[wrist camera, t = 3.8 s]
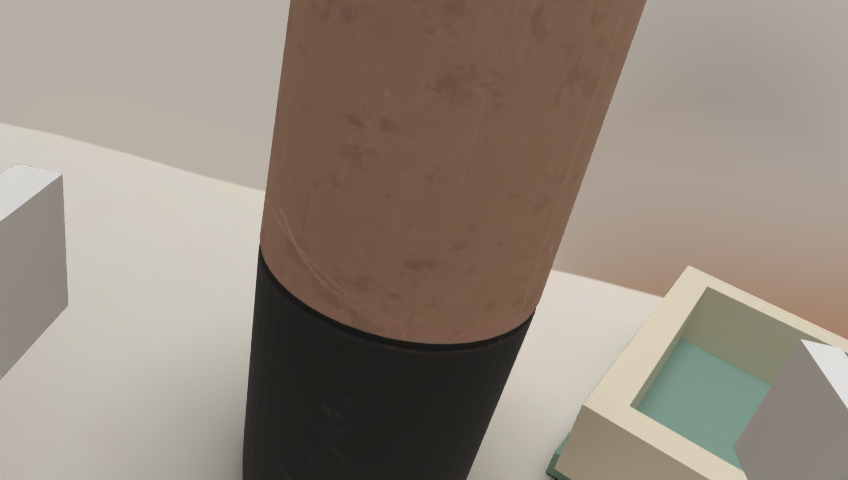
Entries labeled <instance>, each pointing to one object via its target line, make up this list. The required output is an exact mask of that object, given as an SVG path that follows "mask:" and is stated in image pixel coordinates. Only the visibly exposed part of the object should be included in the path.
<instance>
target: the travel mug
mask: <svg viewBox="0 0 848 480" xmlns="http://www.w3.org/2000/svg"><path fill="white" fill-rule="evenodd" d="M646 1H647V0H291V1H290V9H289V16H288V24H287V33H286V40H285V48H284V56H283V63H282V71H281V78H280V87H279V94H278V102H277V109H276V118H275V125H274V133H273V141H272V148H271V156H270V164H269V172H268V179H267V187H266V194H265V202H264V210H263V218H262V225H261V233H260V246H259V254H258V266H257V279H256V291H255V304H254V316H253V329H252V341H251V354H250V366H249V379H248V391H247V404H246V416H245V429H244V444H243V480H466V479H467V476H468V474H469V471H470V469H471V467H472V464H473V462H474V459H475V457H476V454H477V452H478V450H479V447H480V445H481V442H482V440H483V437H484V435H485V433H486V430H487V428H488V425H489V423H490V420H491V418H492V416H493V413H494V411H495V408H496V406H497V403H498V401H499V399H500V396H501V394H502V391H503V389H504V386H505V384H506V382H507V379H508V377H509V374H510V372H511V369H512V367H513V365H514V362H515V360H516V357H517V355H518V352H519V350H520V348H521V345H522V343H523V340H524V338H525V335H526V333H527V331H528V328H529V326H530V323H531V321H532V318H533V316H534V314H535V310H536V306H537V305H538V303H539V301H540V298H541V295H542V293H543V290H544V287H545V284H546V281H547V278H548V276H549V273H550V270H551V267H552V264H553V262H554V259H555V256H556V253H557V250H558V248H559V245H560V242H561V239H562V236H563V234H564V231H565V228H566V225H567V222H568V220H569V217H570V214H571V211H572V208H573V205H574V203H575V200H576V197H577V194H578V191H579V188H580V186H581V183H582V180H583V177H584V175H585V172H586V169H587V166H588V163H589V161H590V158H591V155H592V152H593V149H594V147H595V144H596V141H597V138H598V135H599V132H600V130H601V127H602V124H603V121H604V118H605V116H606V113H607V110H608V107H609V104H610V102H611V99H612V96H613V93H614V90H615V87H616V85H617V82H618V79H619V76H620V74H621V70H622V68H623V65H624V62H625V59H626V57H627V54H628V51H629V48H630V46H631V42H632V40H633V37H634V34H635V31H636V29H637V26H638V23H639V20H640V17H641V14H642V12H643V9H644V6H645V3H646Z"/></svg>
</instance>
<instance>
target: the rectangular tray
mask: <svg viewBox="0 0 848 480" xmlns="http://www.w3.org/2000/svg"><path fill="white" fill-rule="evenodd" d="M800 339H802V340H807V341H811V342H816V343H820V344H825V345H829V346H834V347H838V348H841V349H842V350H843V351H844V353H845V354H846V355H847V357H848V340H846V339H844V338H842V337H840V336H838V335H836V334H834V333H832V332H829V331H827V330H825V329H823V328H821V327H819V326H817V325H815V324H812V323H810V322H808V321H806V320H804V319H802V318H800V317H797V316H795V315H793V314H791V313H789V312H787V311H785V310H782V309H780V308H778V307H776V306H774V305H772V304H770V303H767V302H765V301H763V300H761V299H759V298H757V297H755V296H752V295H751V294H748V293H746V292H744V291H742V290H740V289H738V288H735V287H733V286H731V285H729V284H727V283H725V282H723V281H721V280H719V279H716V278H714V277H712V276H710V275H708V274H706V273H703V272H701V271H699V270H697V269H695V268H693V267H691V266H688V267H687V268H686V270H685V271H684V272H683V274H682V275H681V276H680V277H679V279H678V280H677V281H676V283H675V284H674V285H673V287H672V288H671V289H670V291H669V292H668V293H667V295H666V296H665V297H664V298H663V300H662V301H661V302H660V304H659V305H658V306H657V308H656V309H655V310H654V312H653V313H652V314H651V316H650V317H649V318H648V319H647V321H646V322H645V323H644V325H643V326H642V327H641V329H640V330H639V331H638V333H637V334H636V335H635V337H634V338H633V339H632V340H631V342H630V343H629V344H628V346H627V347H626V348H625V350H624V351H623V352H622V354H621V355H620V356H619V358H618V359H617V360H616V362H615V363H614V364H613V365H612V367H611V368H610V369H609V371H608V372H607V373H606V375H605V376H604V377H603V379H602V380H601V381H600V383H599V384H598V385H597V386H596V388H595V389H594V390H593V392H592V393H591V394H590V396H589V397H588V398H587V400H586V401H585V402H584V404H583V405H582V407H581V410H580V412H579V414H578V416H577V419H576V421H575V423H574V425H573V428H572V430H571V431H570V433H569V434H568V435H567V437H566V438H565V439H564V441H563V442H562V443H561V445H560V446H559V447H558V449H557V450H556V451H555V453H554V455H553V457H552V460H551V462H550V464H549V466H548V469H547V471H546V472H547V473H549V474H550V475H552V476H553V477H555V478H556V479H558V480H747V478H746V476H745V473H744V471H743V469H742V466H741V464H740V462H739V460H738V457H737V455H736V453H735V451H734V448H733V447H734V445H735V444H736V442H737V440H738V439H739V437H740V436H741V434H742V432H743V431H744V429H745V428H746V426H747V424H748V423H749V421H750V420H751V418H752V416H753V415H754V413H755V411H756V410H757V408H758V407H759V405H760V403H761V402H762V400H763V399H764V397H765V395H766V394H767V392H768V390H769V389H770V387H771V386H772V384H773V382H774V381H775V379H776V378H777V376H778V374H779V373H780V371H781V370H782V368H783V366H784V365H785V363H786V361H787V360H788V358H789V357H790V355H791V353H792V352H793V350H794V349H795V347H796V345H797V344H798V342H799V341H800Z"/></svg>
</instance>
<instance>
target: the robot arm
mask: <svg viewBox="0 0 848 480" xmlns="http://www.w3.org/2000/svg"><path fill="white" fill-rule="evenodd" d="M67 306H68V290H67V268H66V245H65V223H64V200H63V177H62V174H61V173H56V172H52V171H47V170H43V169H38V168H34V167H30V166H25V165H21V164H15V165H14V166H12V167H11V168H9V169H8V170H6V171H5V172H3V173H2V174H0V380H1V379H2V377H3V376H4V375H5V374H6V373H7V372H8V371H9V370H10V369H11V368H12V366H13V365H14V364H15V363H16V362H17V361H18V360H19V359H20V358H21V356H22V355H23V354H24V353H25V352H26V351H27V350H28V349H29V348H30V347H31V345H32V344H33V343H34V342H35V341H36V340H37V339H38V338H39V337H40V336H41V334H42V333H43V332H44V331H45V330H46V329H47V328H48V327H49V326H50V324H51V323H52V322H53V321H54V320H55V319H56V318H57V317H58V316H59V315H60V313H61V312H62V311H63V310H64V309H65V308H66V307H67ZM733 448H734V451H735V453H736V455H737V457H738V460H739V462H740V464H741V466H742V469H743V471H744V473H745V476H746V478H747V480H848V357H847V355H846V354H845V353H844V351H843V350H842V349H841V348H838V347H834V346H829V345H825V344H820V343H816V342H811V341H807V340H802V339H800V341H799V342H798V344H797V345H796V347H795V349H794V350H793V352H792V353H791V355H790V357H789V358H788V360H787V361H786V363H785V365H784V366H783V368H782V370H781V371H780V373H779V374H778V376H777V378H776V379H775V381H774V382H773V384H772V386H771V387H770V389H769V390H768V392H767V394H766V395H765V397H764V399H763V400H762V402H761V403H760V405H759V407H758V408H757V410H756V411H755V413H754V415H753V416H752V418H751V420H750V421H749V423H748V424H747V426H746V428H745V429H744V431H743V432H742V434H741V436H740V437H739V439H738V440H737V442H736V444H735V445H734V447H733Z"/></svg>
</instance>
